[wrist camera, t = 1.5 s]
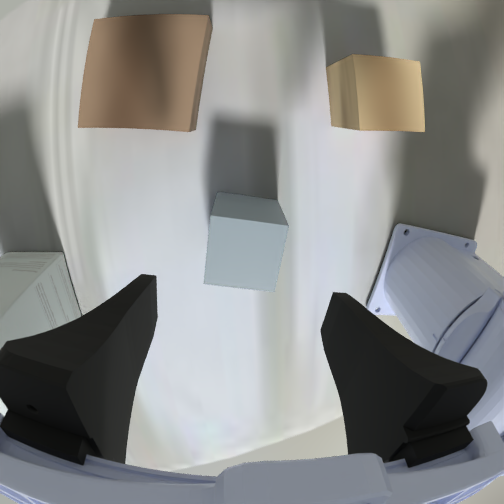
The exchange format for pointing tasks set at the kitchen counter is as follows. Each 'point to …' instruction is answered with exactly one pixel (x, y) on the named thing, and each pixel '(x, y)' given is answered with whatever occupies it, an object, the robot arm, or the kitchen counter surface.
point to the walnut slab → (145, 72)
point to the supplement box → (34, 296)
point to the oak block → (376, 94)
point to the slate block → (245, 242)
